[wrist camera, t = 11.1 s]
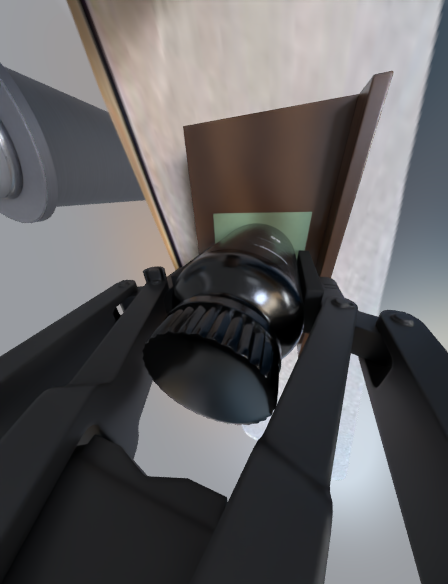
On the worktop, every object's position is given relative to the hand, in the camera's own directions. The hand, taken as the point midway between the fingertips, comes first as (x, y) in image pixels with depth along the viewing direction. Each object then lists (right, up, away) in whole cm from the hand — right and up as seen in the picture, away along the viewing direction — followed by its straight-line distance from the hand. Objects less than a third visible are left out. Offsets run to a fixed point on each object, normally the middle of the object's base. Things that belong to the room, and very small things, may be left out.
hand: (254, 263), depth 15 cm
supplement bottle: (0, 0, +1) cm, 1 cm away
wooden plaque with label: (+2, +3, +5) cm, 6 cm away
